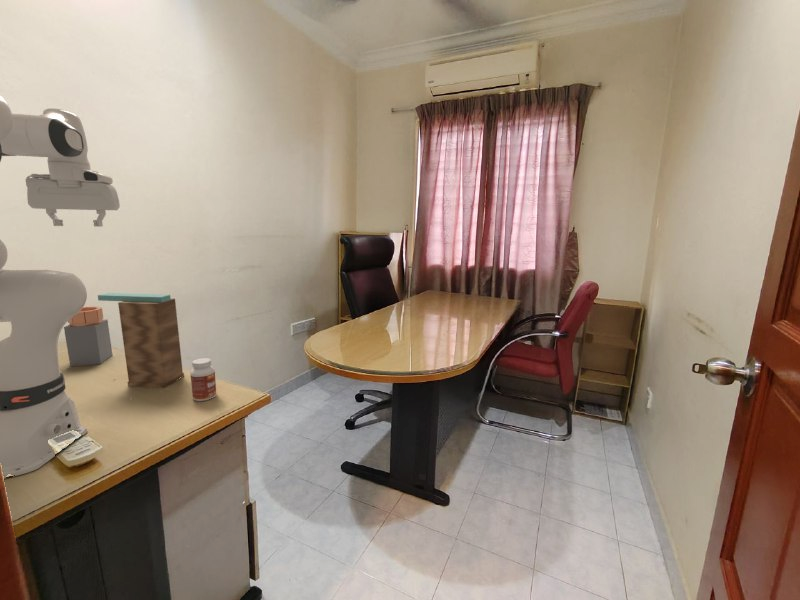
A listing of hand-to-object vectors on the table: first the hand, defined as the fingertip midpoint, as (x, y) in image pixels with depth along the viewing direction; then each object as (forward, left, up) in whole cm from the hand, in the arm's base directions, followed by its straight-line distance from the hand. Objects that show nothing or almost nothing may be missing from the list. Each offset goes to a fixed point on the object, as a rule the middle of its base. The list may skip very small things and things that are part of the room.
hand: (78, 226), depth 105 cm
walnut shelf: (-1, -15, -48) cm, 50 cm away
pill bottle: (-17, -32, -48) cm, 60 cm away
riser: (+24, +13, -48) cm, 55 cm away
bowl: (+24, +13, -34) cm, 44 cm away
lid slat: (+1, -11, -22) cm, 25 cm away
